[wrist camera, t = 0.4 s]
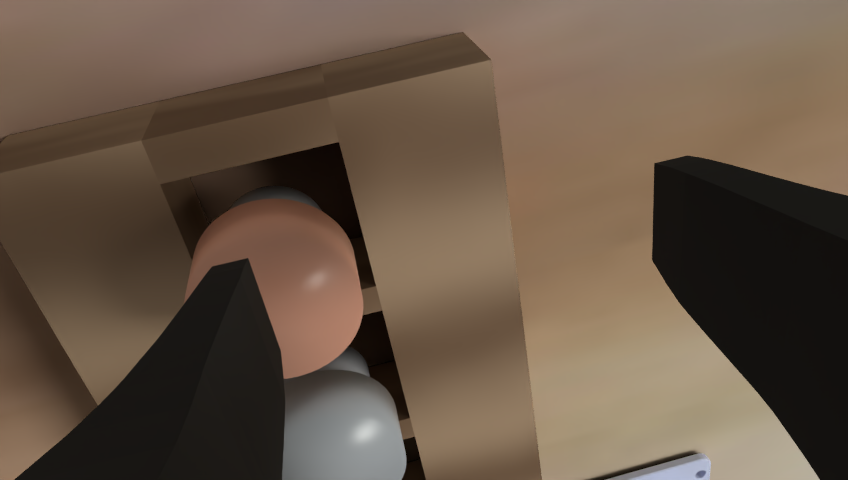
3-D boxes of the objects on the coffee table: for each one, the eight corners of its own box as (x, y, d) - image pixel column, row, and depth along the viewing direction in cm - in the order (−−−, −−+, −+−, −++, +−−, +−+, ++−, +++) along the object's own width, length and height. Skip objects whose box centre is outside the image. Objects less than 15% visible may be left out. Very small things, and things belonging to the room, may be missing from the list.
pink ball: (362, 272, 20) (379, 355, 17) (227, 306, 20) (218, 397, 16) (329, 149, 18) (341, 216, 14) (177, 185, 17) (155, 261, 14)
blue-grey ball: (398, 405, 23) (418, 498, 19) (280, 436, 22) (281, 535, 19) (372, 312, 21) (390, 398, 17) (243, 345, 20) (237, 439, 17)
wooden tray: (521, 451, 29) (545, 510, 26) (221, 534, 28) (215, 603, 25) (463, 32, 19) (491, 59, 17) (7, 135, 19) (-36, 181, 16)
